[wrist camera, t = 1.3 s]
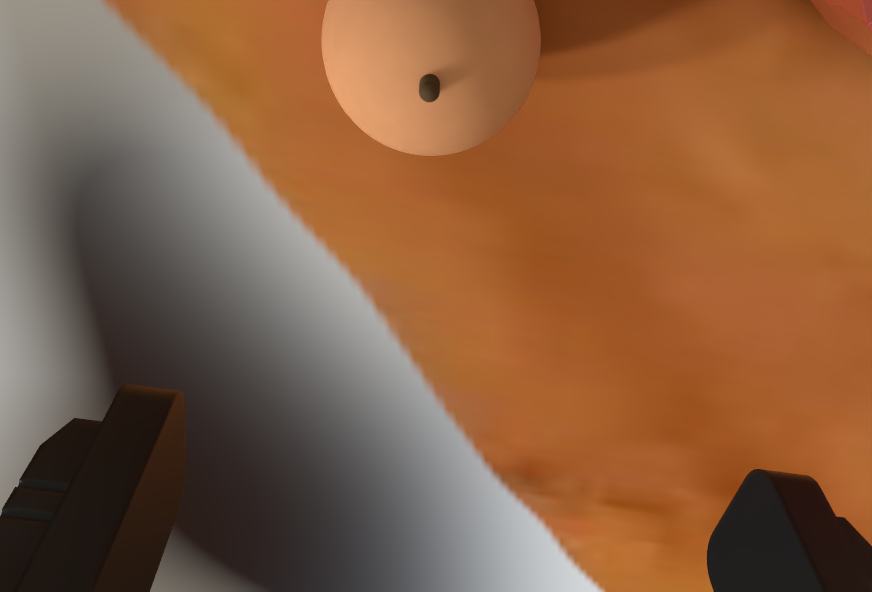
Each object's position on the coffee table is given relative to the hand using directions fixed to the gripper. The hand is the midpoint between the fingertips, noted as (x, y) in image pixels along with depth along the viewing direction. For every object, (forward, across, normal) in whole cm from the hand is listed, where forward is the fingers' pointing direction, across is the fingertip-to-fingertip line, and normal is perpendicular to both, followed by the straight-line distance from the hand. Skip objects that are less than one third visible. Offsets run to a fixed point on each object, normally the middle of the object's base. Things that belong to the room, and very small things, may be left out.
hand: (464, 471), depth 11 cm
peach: (+17, +1, -2) cm, 17 cm away
